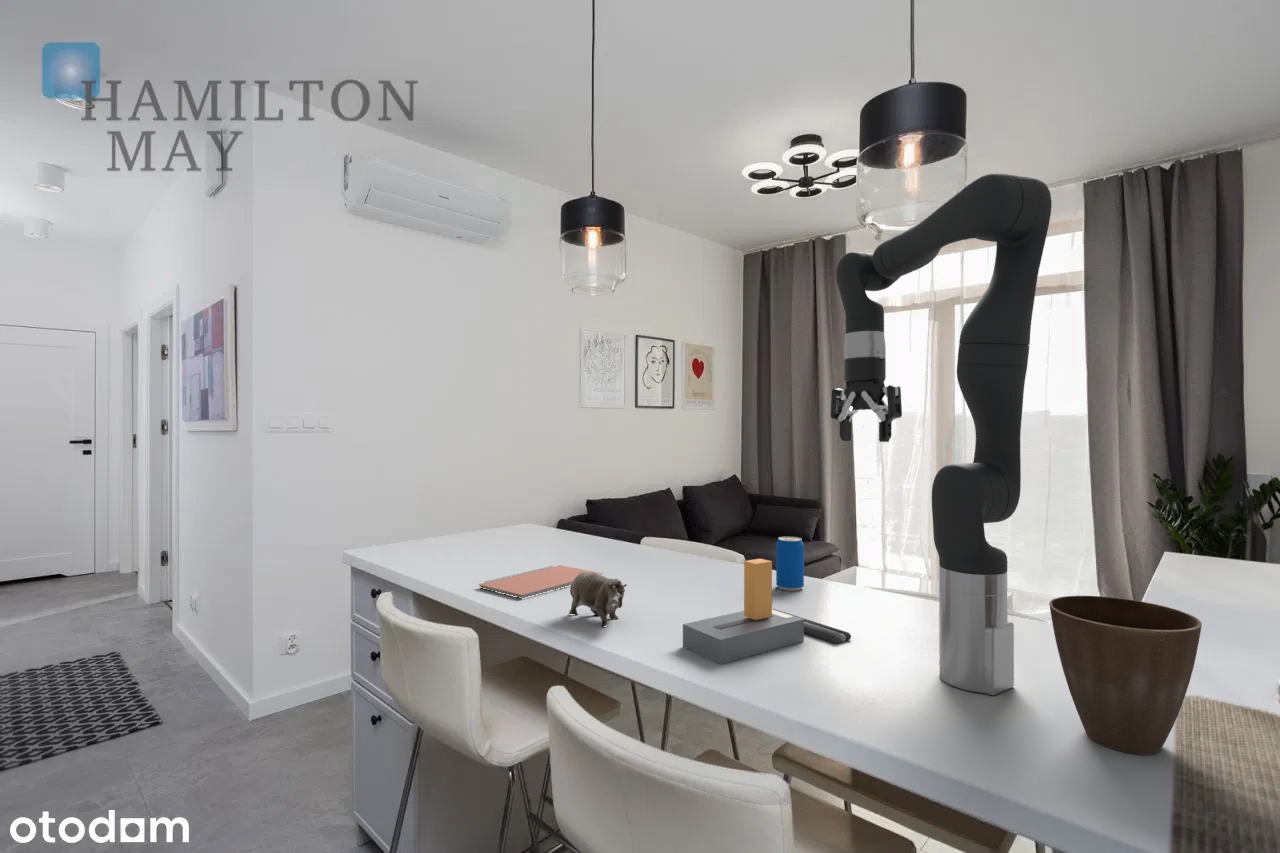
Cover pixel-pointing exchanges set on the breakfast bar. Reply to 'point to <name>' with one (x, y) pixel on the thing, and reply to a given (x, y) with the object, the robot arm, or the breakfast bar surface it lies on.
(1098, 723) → the plant pot
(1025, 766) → the breakfast bar surface
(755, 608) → the handle
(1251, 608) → the breakfast bar surface
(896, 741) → the breakfast bar surface
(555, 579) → the notebook
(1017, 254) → the robot arm
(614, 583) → the rhinoceros figurine
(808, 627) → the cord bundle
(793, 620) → the breaker box
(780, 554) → the beverage can
